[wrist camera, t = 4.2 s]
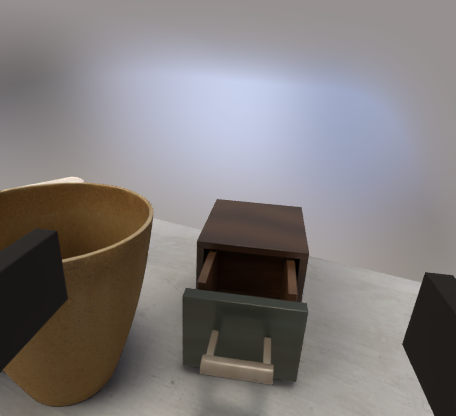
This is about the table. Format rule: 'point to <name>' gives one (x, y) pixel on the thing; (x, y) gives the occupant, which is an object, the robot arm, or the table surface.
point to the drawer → (244, 318)
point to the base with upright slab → (62, 181)
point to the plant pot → (80, 283)
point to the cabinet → (256, 234)
